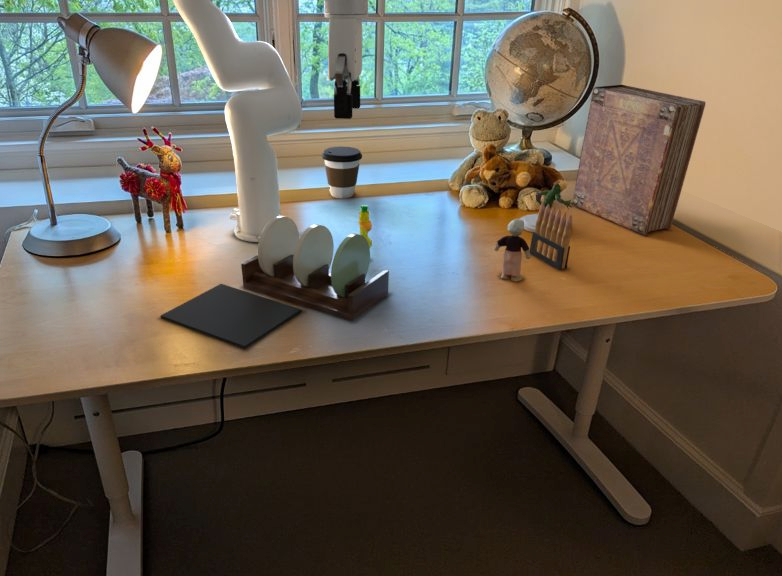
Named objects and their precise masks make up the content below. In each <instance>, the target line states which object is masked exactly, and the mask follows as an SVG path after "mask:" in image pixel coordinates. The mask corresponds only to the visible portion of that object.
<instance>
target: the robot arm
mask: <svg viewBox="0 0 782 576" xmlns="http://www.w3.org/2000/svg"><path fill="white" fill-rule="evenodd" d="M323 2H324V3H323V5H324V18H328V19H329V20H328V31H327V33H328V34H327V79H328V81H330V82H333V81H334V86H333V115H334V116H333V117H334V118H335V119H336V120H337V119H339V120H340V119H341V120H351V119H352V118H353V109H354V110H355V109H356V110H358V109H360V108H361V85H360V82H361V80H360V76H361V75H362V70H363V19H367V18H369V0H323ZM172 3H173V4H174V6H175V8H176V10H177V12H178V14H179V15H180V17H181V19H182V20H183V22H184V23H185V25H186V26H187V28H188V29H189V30H190V32H191V33H192V35H193V38H194V39H195V41H196V43H197V46H198V48H199V50H200V52H201V53H200V54H201V55H202V57H203V59H204V62H205V63H206V66H207V67H208V70H209V72H210V74H211V76H212V78H213V80H214V82H215V83H216V85H217V86H218V87H219V88H220V89H221V90H222V91H225V92H239V93H235V94H234V95H232V96H231V97H229V99H228V100H227V102H226V104H225V106H224V118H225V119H224V120H225V123H226V127H227V130H228V133H229V137H230V142H231V147H232V155H233V163H234V172H235V184H236V192H237V200H238V201H237V204H238V208H233V209H232V211H231V213H230V214H229V217H228V218H229V219H230V220H232V221H236V224H237V225H236V226H235V227H234V230H233V233H234V236H235V237H236V238H238V239H239V240H241V241H245V242H250V243H259V239H260V236H261V233H262V231H263V229H264V228H265V226H266V225H267V223H268V222H269V221H270V220H272V219H273V218H275V217H277V216H281V203H280V202H281V201H280V186H279V185H280V183H279V170H278V158H277V155H276V152H275V150H274V148H273V147H272V145H271V144H270V142H269V141H268V138H267V137H270V136H273V135H274V136H275V135H278V134H284V133H288V132H291V131H294V130H296V129H297V128H298V127H299V126H300V124H301V123H302V118H303V108H302V104H301V103H302V102H301V101H300V98H299V95H298V93H297V91H296V88H295V86H294V84H293V81H292V79H291V77H290V75H289V73H288V70H287V68H286V66H285V64H284V62H283V60H282V57H281V55H280V54H279V52H278V51H277V50H276V48H275V47H274V46H272V45H271V44H270V43H268V42H266V41H262V40H253V41H252V40H251V41H250V40H249V41H244V40H242V39H240V37H239V36H238V33H237V32H236V30H235V28H234V26H233V23H232V22H231V20H230V18H229V16H228V15H227V14H226V13H225V12H224V11H223V10H222V9H221V8H219V6H217V5H216V3H214V2H213V1H211V0H172Z"/></svg>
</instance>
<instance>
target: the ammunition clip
mask: <svg viewBox="0 0 782 576" xmlns="http://www.w3.org/2000/svg"><path fill="white" fill-rule="evenodd" d="M541 202H542V204H541V205H539V210H538V213H537V214H538V218H537V220H536V226H535V232H532V236H531V240H530V246H529V251H530V255H531V256H533V257H535V258H537V259H539V260H541V261H542V262H544V263H546V264H547V265H549V266H551V267H553V268H554V269H556V270H558V271H562V270H566V269H567V268H568V262H569V256H570V250H571V246H570V242H571V236H572V226H573V216H572V214H569V216H568V217H567V212H566V211H564V212H563V214H562V212H561V209H560V208H559V209H558V210H557V211H556V207H555V206H552V207H551V209H550V206H549V204H548V205H547V207H546V209H545V205H544V201H541ZM544 211H545V213H544ZM549 216H550V217H549ZM555 216H556V217H555ZM560 220H561V221H560Z"/></svg>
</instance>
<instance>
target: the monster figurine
mask: <svg viewBox="0 0 782 576" xmlns="http://www.w3.org/2000/svg"><path fill="white" fill-rule="evenodd" d="M561 192H562V186H561V184H560V183H558V182H557V183H555V185H554V186H552V188H551V189H547V190H541V191H538V192H535V201H536V202H537V203H538V204H539V206H541V204H542V202H544V205H545V209H546V207H547V205H548V204H549V206H550V210H552V208H553V204H554V202H555V201H557V202H558V203H559V204H561V205H564V206H566V208H567V209H568V210H570V208H571V209H573V206H572V204H573V203H572V202H571V201H572V199H570V200H564V199H562V198H561V197H562V195H561ZM542 196H545V197H544V199H543V200H544V201H542ZM569 207H570V208H569ZM544 213H545V211H544ZM538 214H539V213H533V214H526V215H523V216H521V217H520V218H519V219H521V220H523V221H524V229H523V230H525V231H527V232H530V233H533V232H535V226H536V220H537V218H538ZM549 217H550V216H549ZM555 217H556V215H555ZM560 221H561V220H560Z"/></svg>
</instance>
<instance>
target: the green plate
mask: <svg viewBox="0 0 782 576" xmlns="http://www.w3.org/2000/svg"><path fill="white" fill-rule="evenodd" d="M370 261H371V247H370V248H369V244H368V241H367V240H366V238H365V237H364V236H362V235H361V234H359V233H351V234H349V235H347V236H346V237H344V238H343V239H342V241H341V242H340V244H339V245H338V247H337V248H336V251H335V253H334V255H333V258H332V262H331V267H330V269H331V270H330V273H331V283H332V287H333V290H334V292H335V293H336V294H337V295H338V296H340V297H344V298H346V285H347V284H349V283H350V282H352V281H353V280H355V279H356V278H358V277H359V276H361V275H362V274H365V279H366V278H367V275H368V272H369V269H370Z"/></svg>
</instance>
